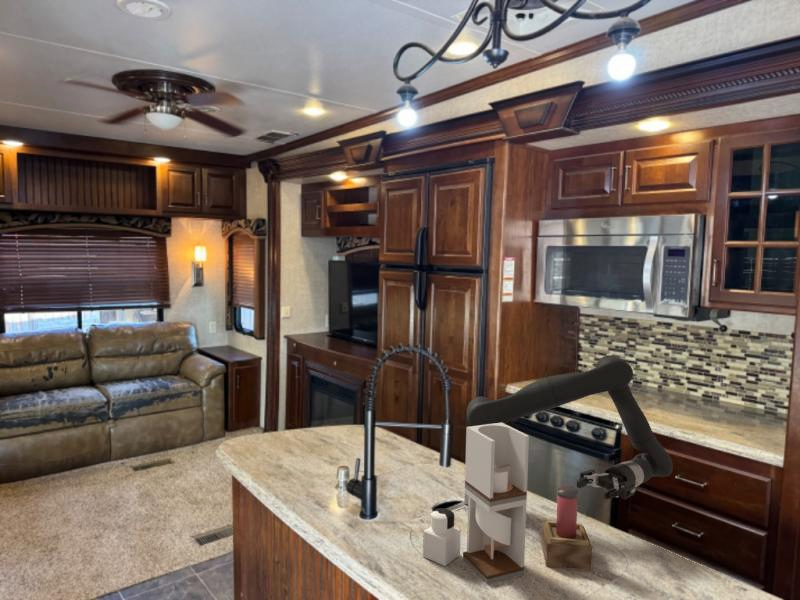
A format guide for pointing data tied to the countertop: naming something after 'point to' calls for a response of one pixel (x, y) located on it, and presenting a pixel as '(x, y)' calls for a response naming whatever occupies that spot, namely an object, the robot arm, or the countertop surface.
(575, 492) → the red lidded canister
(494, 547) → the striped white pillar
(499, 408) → the robot arm
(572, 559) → the wooden box
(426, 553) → the medicine bottle
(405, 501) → the countertop surface
